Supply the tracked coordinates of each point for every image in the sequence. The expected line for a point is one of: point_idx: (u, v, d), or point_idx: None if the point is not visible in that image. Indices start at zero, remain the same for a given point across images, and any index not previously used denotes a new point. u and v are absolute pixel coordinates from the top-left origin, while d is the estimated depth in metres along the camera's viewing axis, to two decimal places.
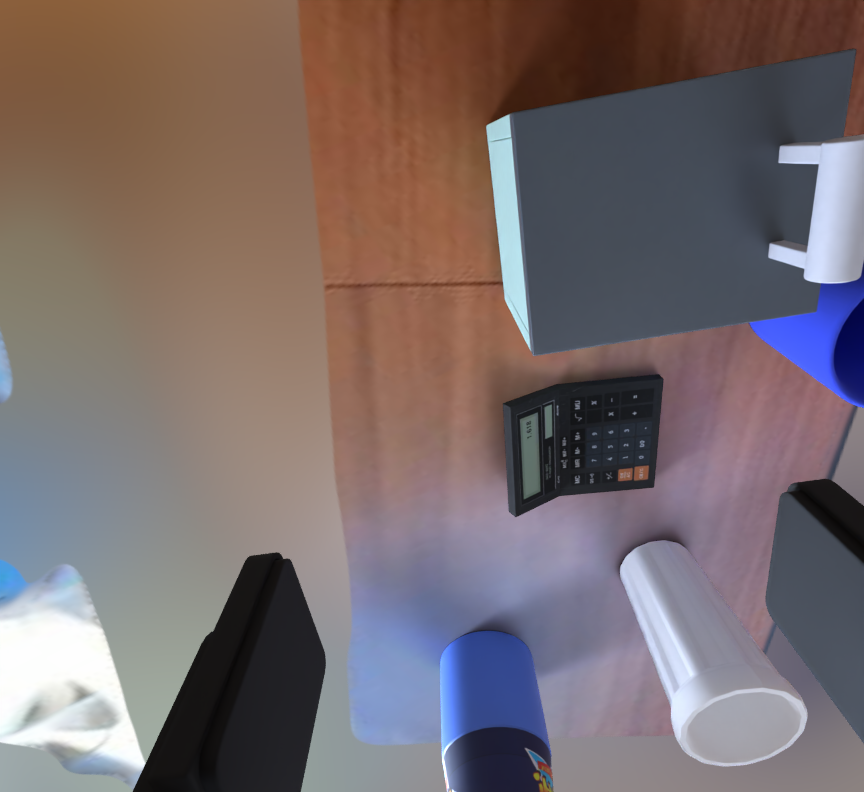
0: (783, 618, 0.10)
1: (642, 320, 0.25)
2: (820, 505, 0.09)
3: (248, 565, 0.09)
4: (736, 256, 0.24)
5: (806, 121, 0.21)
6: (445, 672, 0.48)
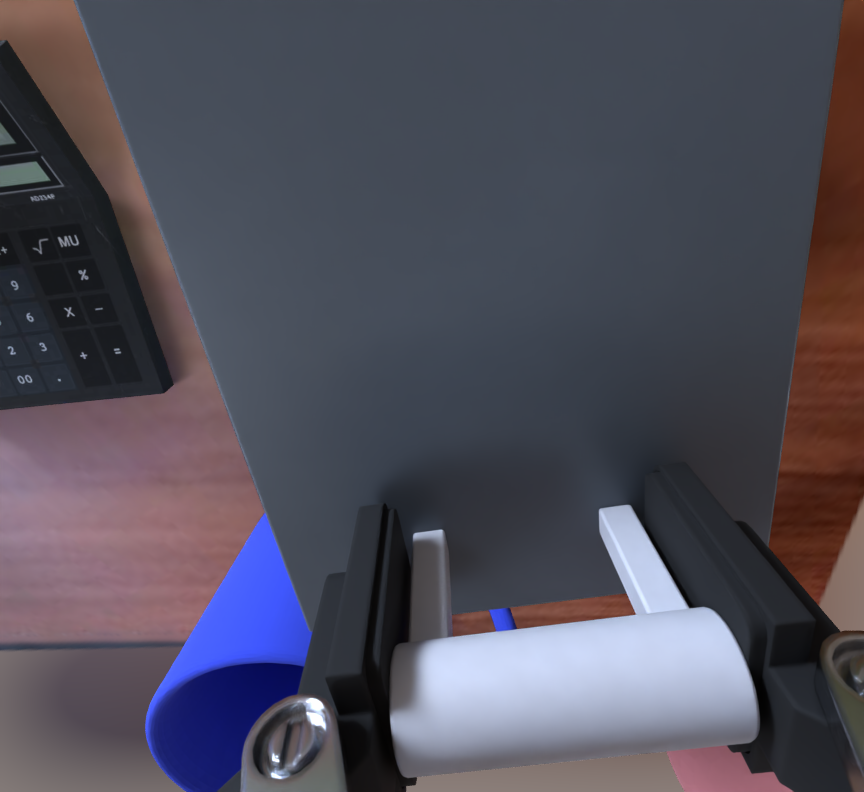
0: None
1: (239, 296, 0.09)
2: (672, 484, 0.10)
3: (362, 513, 0.10)
4: (414, 477, 0.11)
5: None
6: None
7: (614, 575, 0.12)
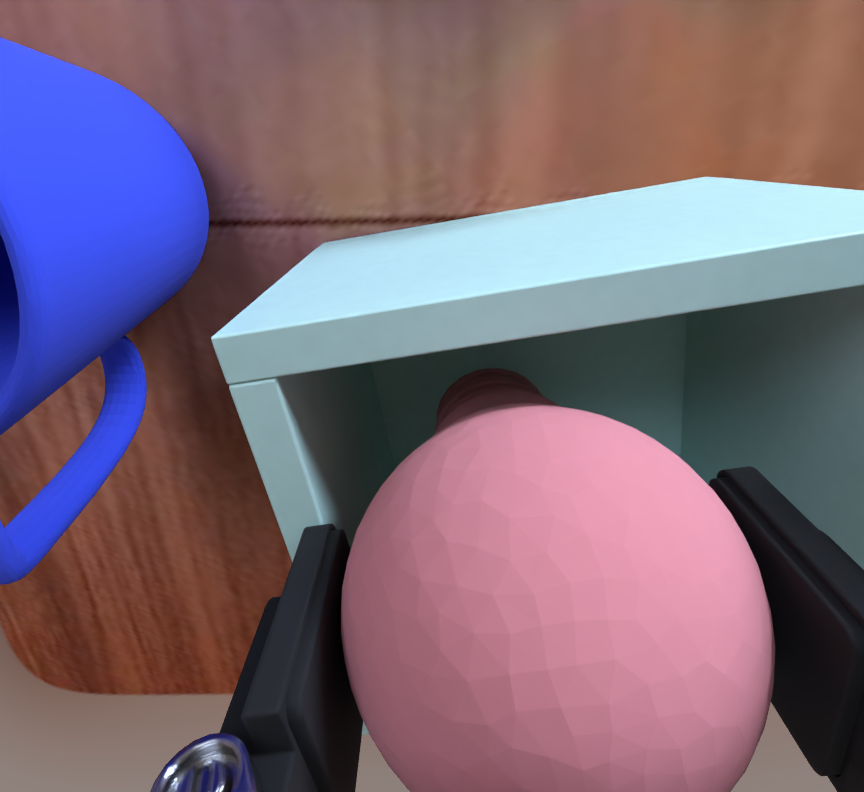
0: None
1: None
2: (742, 490, 0.09)
3: (306, 534, 0.10)
4: None
5: None
6: None
7: None
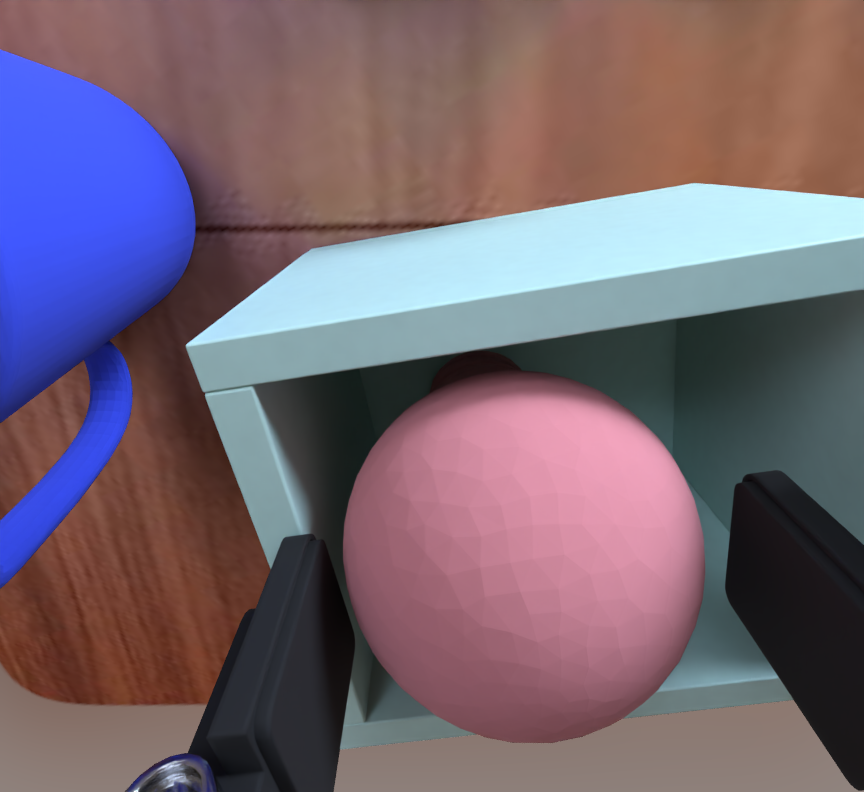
0: (740, 604, 0.10)
1: None
2: (770, 495, 0.09)
3: (284, 545, 0.10)
4: None
5: None
6: None
7: None
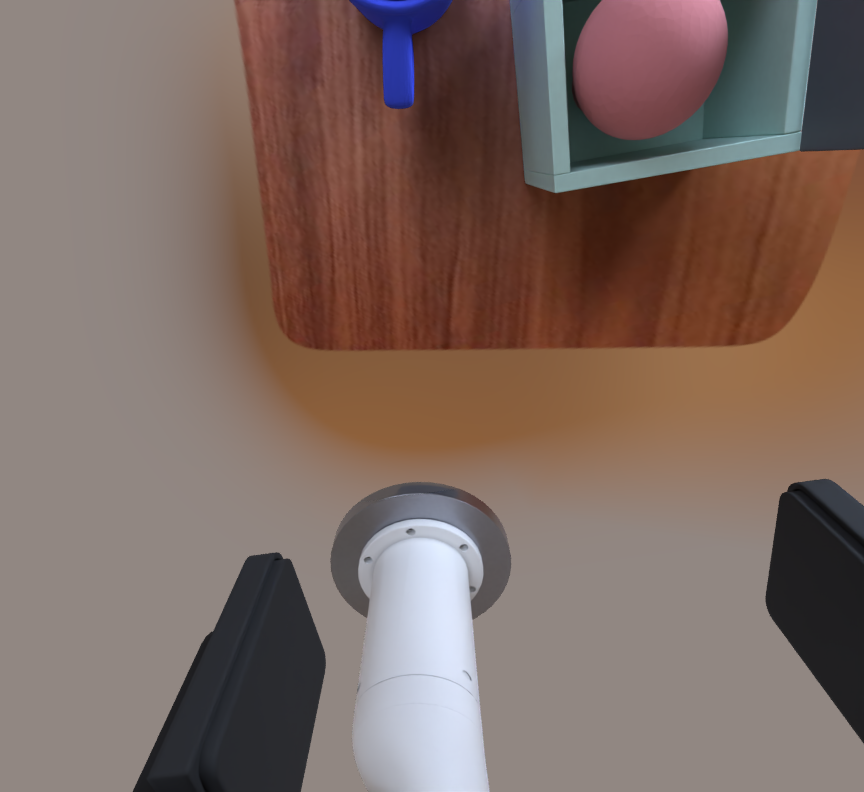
0: (783, 618, 0.10)
1: None
2: (821, 506, 0.09)
3: (248, 565, 0.09)
4: None
5: None
6: None
7: None
